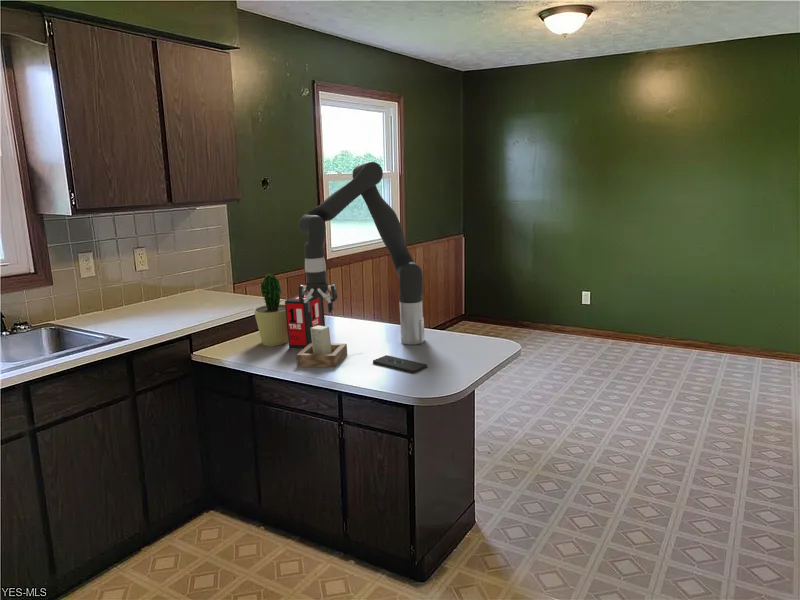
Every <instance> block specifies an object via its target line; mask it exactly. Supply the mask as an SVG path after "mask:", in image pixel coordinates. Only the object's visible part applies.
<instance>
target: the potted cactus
mask: <svg viewBox="0 0 800 600" xmlns="http://www.w3.org/2000/svg"><path fill="white" fill-rule="evenodd" d="M274 274H275V273H274V272H273V273H268V274H267V273H266V275H264V276H265V277H264V278H263V279H262V282H260V283H259V285H260V288H259V289H260V294H261V295H262V296H263V298H262V300H263V301H264V304H265V305H261V306H258V307H255V308H254V309H253V312H254V317H255V320H256V324H257V328H258V332H259V337H260V340H261V343H262V345H264V346H268V347H269V346H270V347H275V346H281V345H285V344H287V343H289V342H288V331H287V320H286V309H285V303H281V295H282V294H283V291H282V287H281V284H282V283H281V282H280V279H281V278H278V276H277V275H274Z"/></svg>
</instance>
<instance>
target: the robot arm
mask: <svg viewBox="0 0 800 600" xmlns="http://www.w3.org/2000/svg"><path fill="white" fill-rule="evenodd" d="M352 170H353V171H352V179H351V180H350V181H349V182H348V183H346V184H345V185H343V186H341V188H339V189H337V190H335V192H333V193H331V194H330V195H329V196H328V197H327V198H326V199H325V200H324V201H322V202H321V203H320V204H319V205H318V206H316V207H314V208H312V209H311V210H309V211H307V212H306V213H305V214H303V215H302V216H301V218H300V219H299V221H298V230H299V231H300V232H301V233H302V234H305V235H308V240H307V242H305V243H304V245H303V251H304V252H303V253H304V270H305V281H306V285H304V284H300V285H299V286H298V295H299V301H300V302H301V301H302V302H304V304H305V311H307V313H309V312H310V302H309V300H310V298H311V297H312V296H313V297H317V296H318V297H322V296H323V299H325V301H327V309H328V313H332V312H333V311H334V302H336V301H337V300H338V298H339V297H338V291H337V286H336V283H335V284H334V283H333V284H328V279H327V278H328V277H327V266H326V260H325V251H324V242H325V237H326V223H325V222H329V221H332V220H334V219H335V218H336V217H337V216H338V215H339V214H340V213H341V212H342V211H344V210H345V208H347V207H348V206H349V205H350V204H351V203H352V202H353V201H355V200H356V199H357V198H358V197H359V196H361V197H362V199H363V201H364V202H365V204H366V207H367V209H368V211H369V213H370V215H371V218H372V220H373V222H374V224H375V227H376V229H377V231H378V234H379V236H380V238H381V240H382V242H383V244H384V245H385V247H386V249H387V251H388V253H389V255H390V256H391V260H392V263H393V266H394V269H395V273H396V276H397V278H398V279H399V288H400V289H399V295H398V296H399V297H398V298H399V300H398V301H399V314H400V315H399V320H400V323H399V324H400V340H401V342H400V343H402V344H404V345H419V344H423V343H424V341H425V339H426V338H425V318H424V315H423V293H424V291H423V290H424V288H423V287H424V286H423V285H424V280H423V277H424V276H423V271H422V268H421V267H420V265H418V264H417V263H416V262H415V260H414V259H413V257H412V255H411V253H410V251H409V249H408V246H407V243H406V239H405V238H406V237H405V234H404V231H403V228H402V224H401V222H400V220H399V218H398V215H397V213H396V212H395V210H394V209H393V208H392V206H391V205H390V204H388V202H386V200H385V199H384V198H383V197H382V195H381V194H380V191H379V190H378V188H377V187H378V186H377V185H378V184H379V183H380V182H381V181H382V179H383V175H384V173H383V169H382V166H381V165H380V164H379V163H378V162H377V161H366V162H363V163H361V164H358V165H356V166H355V167H354V168H353V169H352ZM328 290H329V292H330V293H331V295H330V293H329V292H328ZM305 291H306V292H309V293H308V295H307V296H306V298H304V292H305Z"/></svg>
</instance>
